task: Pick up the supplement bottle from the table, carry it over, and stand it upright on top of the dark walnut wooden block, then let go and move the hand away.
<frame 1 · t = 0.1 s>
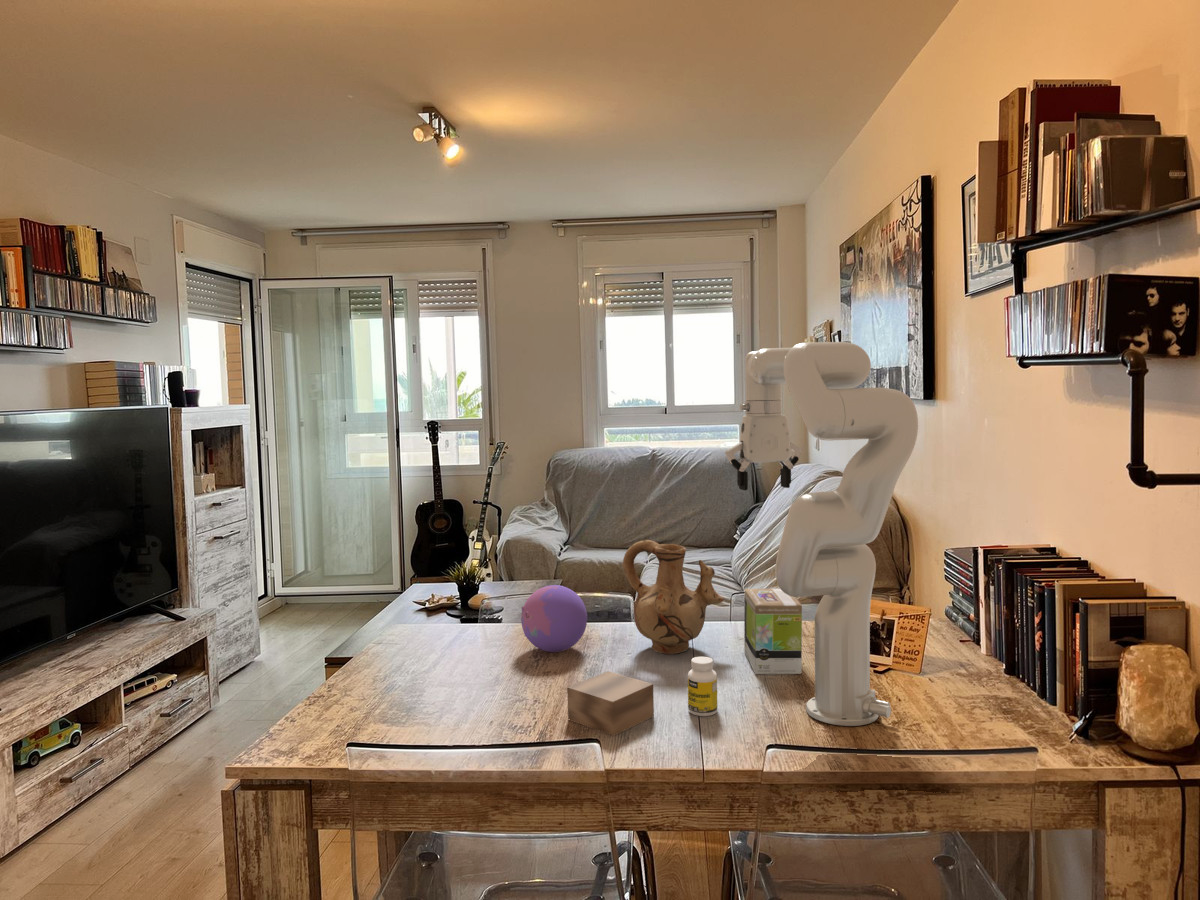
hand: (764, 488, 179), 37 cm above the table, tool pointing down, fingers open, 9 cm apart
walnut block: (611, 717, 151), on the table
ceramic vessel: (673, 650, 189), on the table
decorative ball: (555, 651, 191), on the table
tea box: (772, 664, 179), on the table
supplement bottle: (702, 712, 153), on the table
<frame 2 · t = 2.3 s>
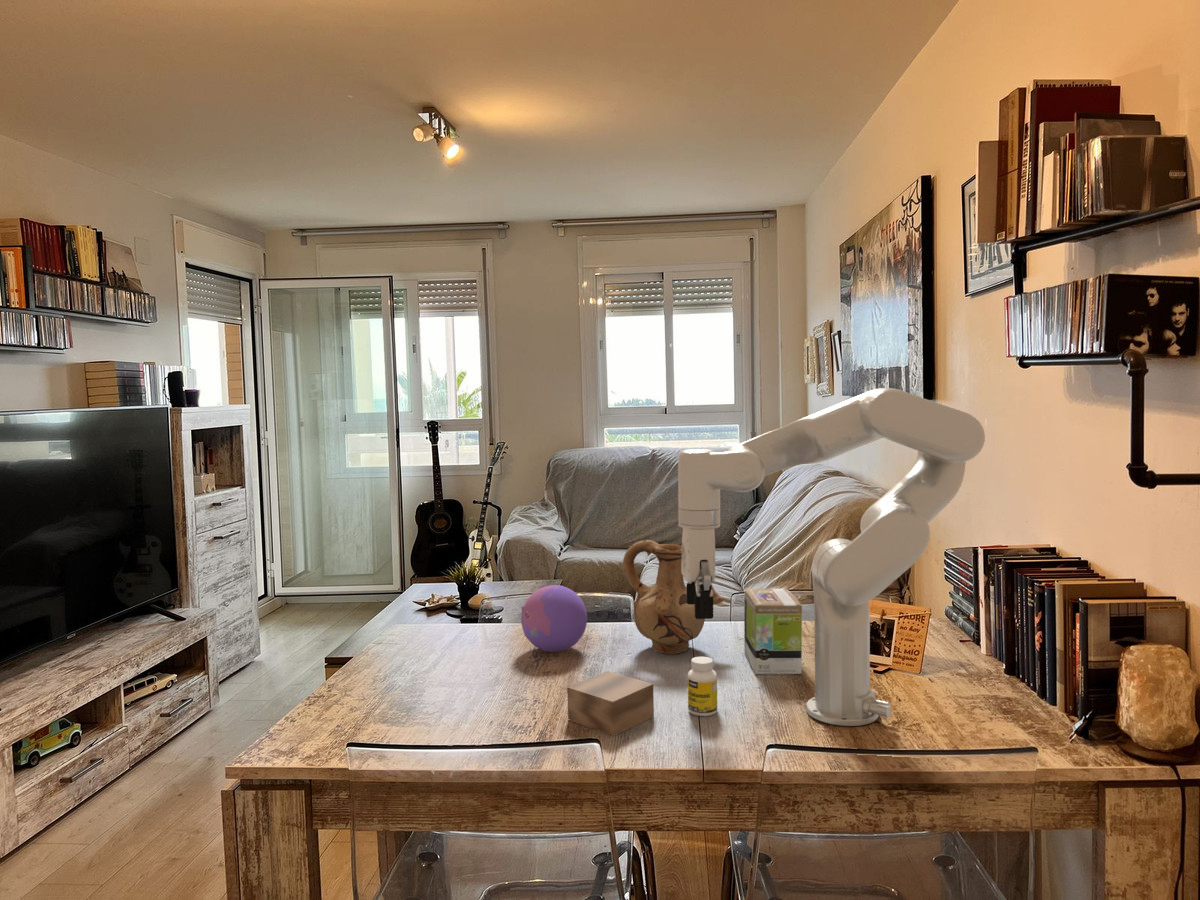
hand: (699, 610, 152), 19 cm above the table, tool pointing down, fingers open, 9 cm apart
nothing on the table moved.
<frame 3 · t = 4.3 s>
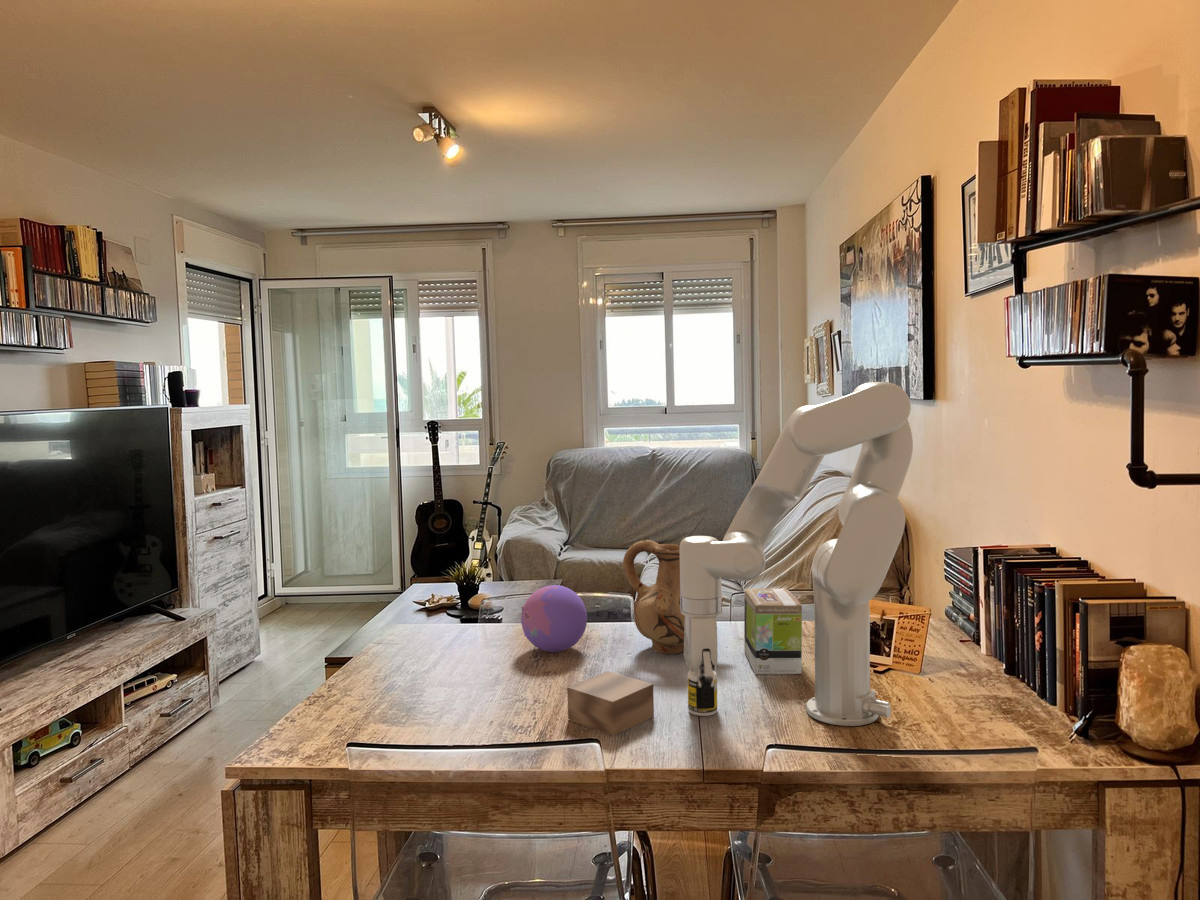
hand: (702, 700, 153), 2 cm above the table, tool pointing down, fingers closed on supplement bottle, 5 cm apart
supplement bottle: (702, 712, 153), on the table, touching gripper
everything else where it was.
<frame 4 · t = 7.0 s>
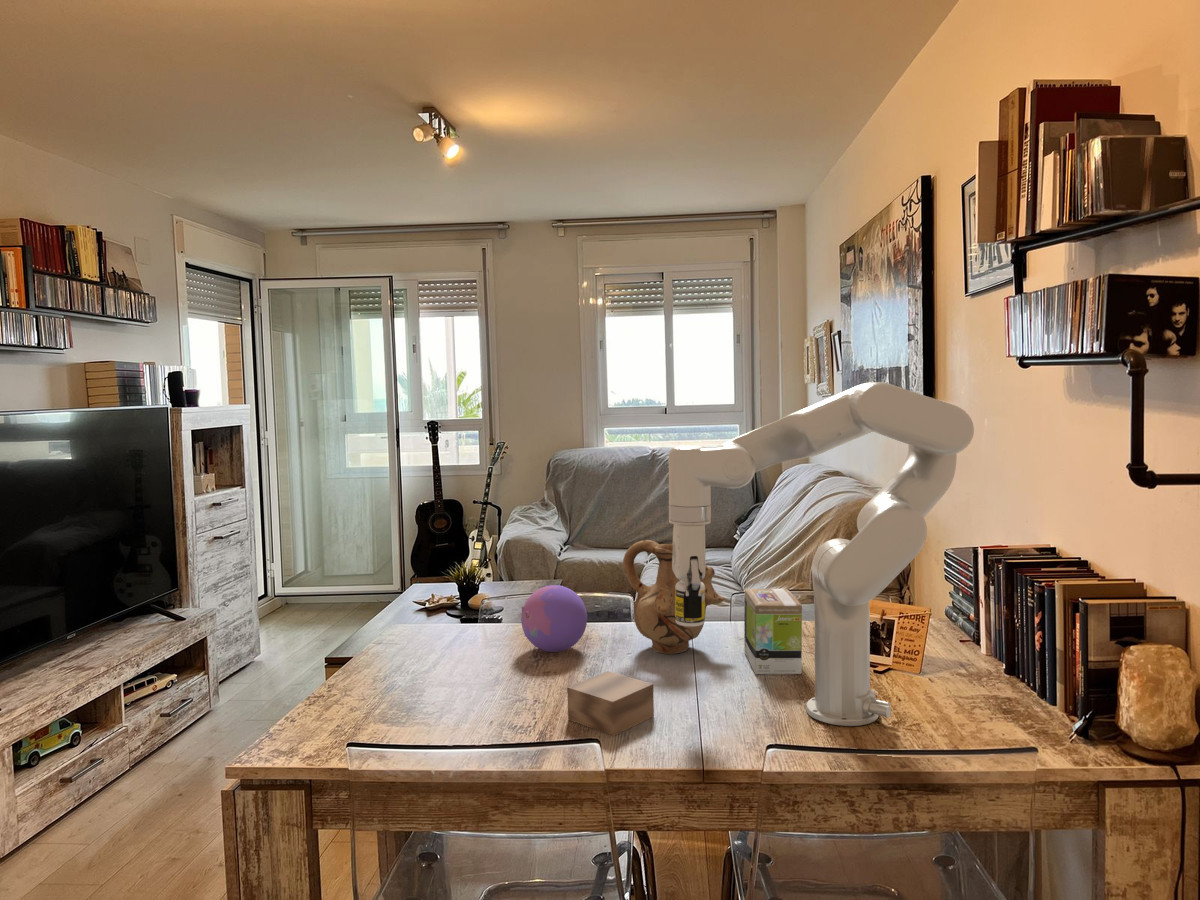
hand: (690, 612, 152), 19 cm above the table, tool pointing down, fingers closed on supplement bottle, 5 cm apart
supplement bottle: (690, 624, 152), point 16 cm above the table, touching gripper
everything else where it was.
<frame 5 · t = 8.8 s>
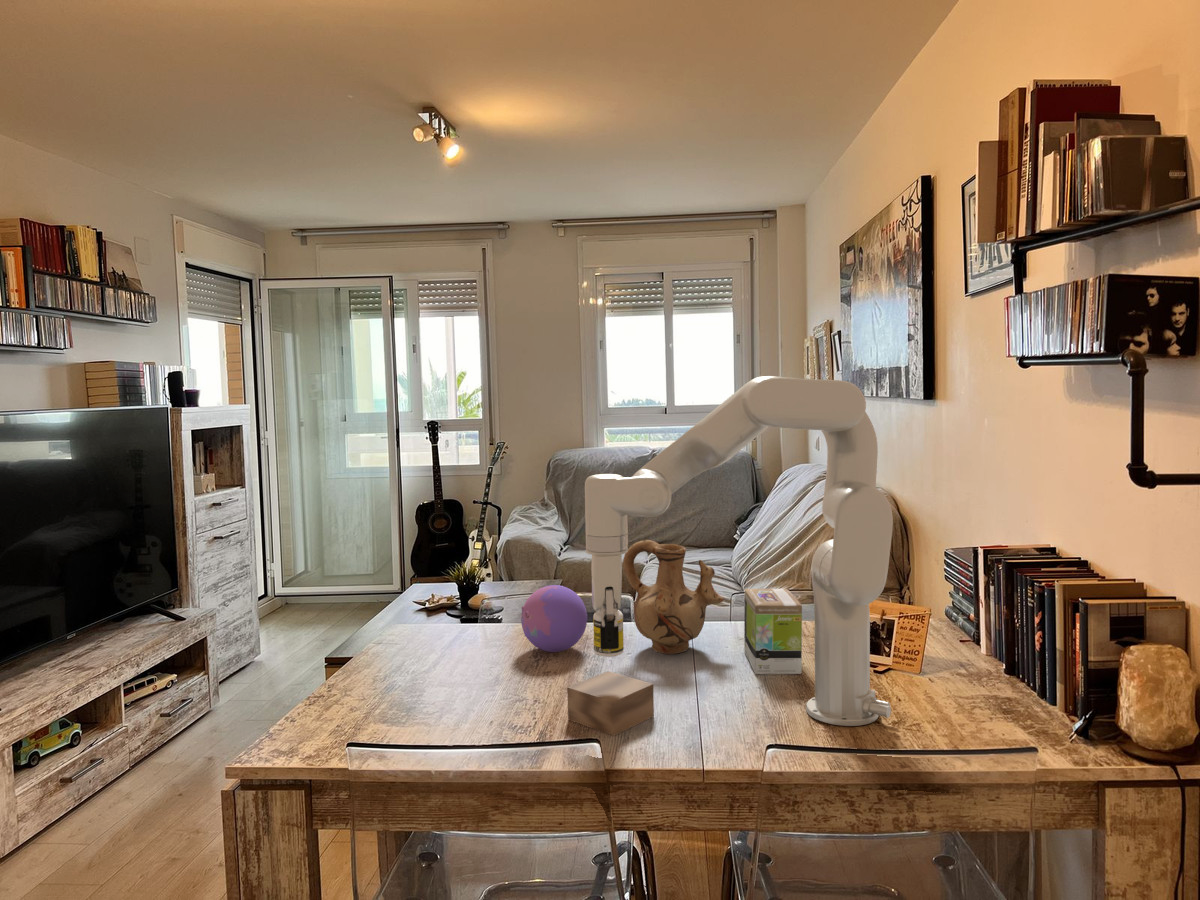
hand: (608, 642, 150), 14 cm above the table, tool pointing down, fingers closed on supplement bottle, 5 cm apart
supplement bottle: (608, 653, 150), point 12 cm above the table, touching gripper
everything else where it was.
when the fingers open (9 cm above the table, at t = 10.0 s): supplement bottle drops 1 cm, resting on walnut block.
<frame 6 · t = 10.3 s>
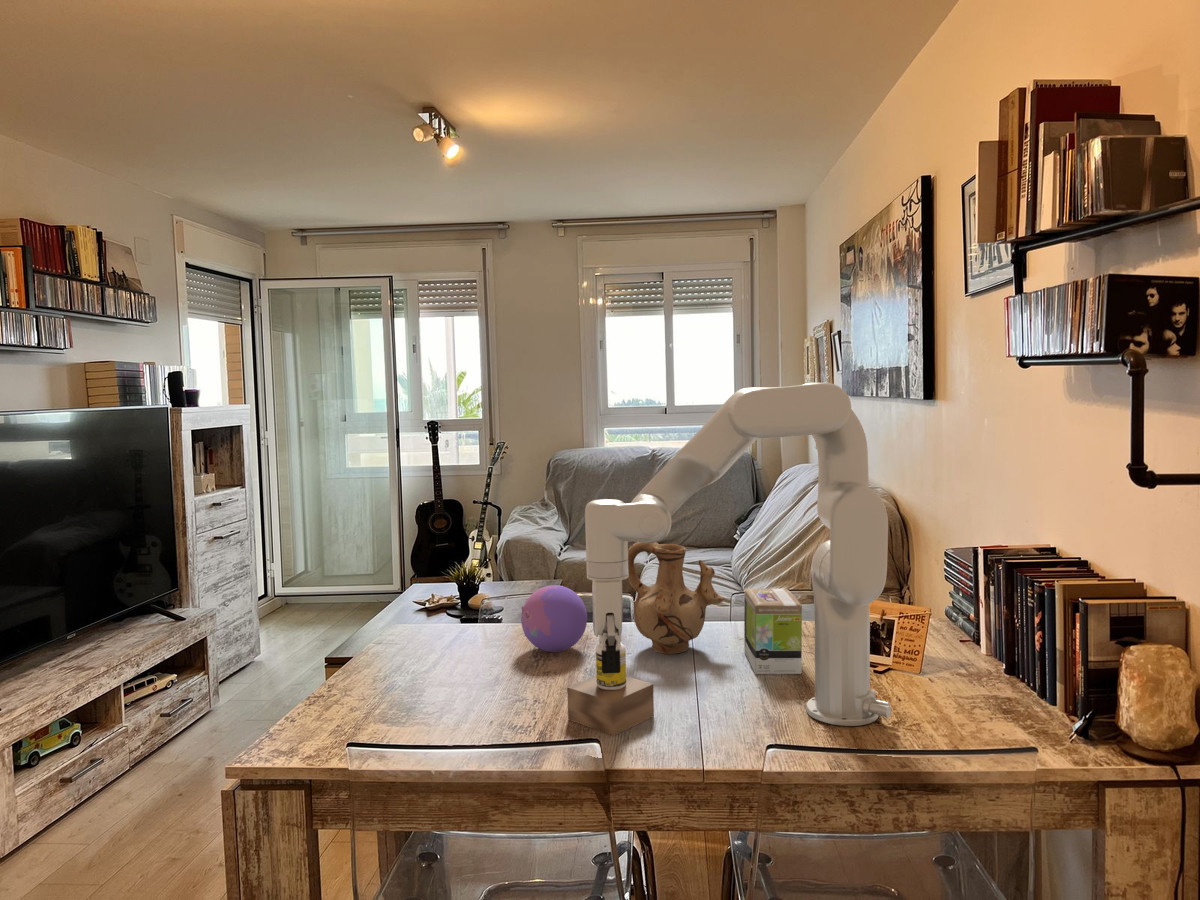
hand: (609, 663, 150), 10 cm above the table, tool pointing down, fingers open, 8 cm apart
supplement bottle: (611, 686, 150), point 6 cm above the table, touching walnut block
everything else where it was.
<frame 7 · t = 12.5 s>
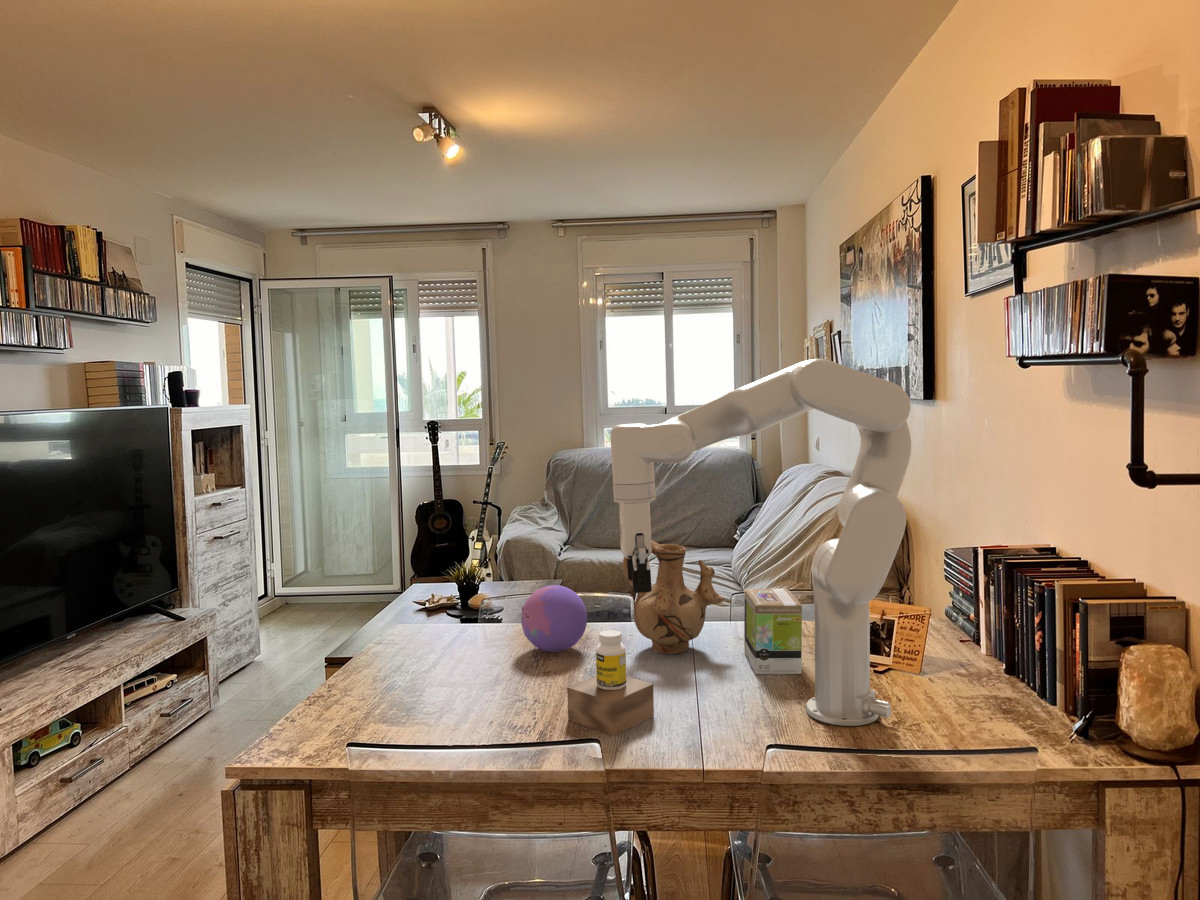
hand: (639, 585, 151), 24 cm above the table, tool pointing down, fingers open, 9 cm apart
nothing on the table moved.
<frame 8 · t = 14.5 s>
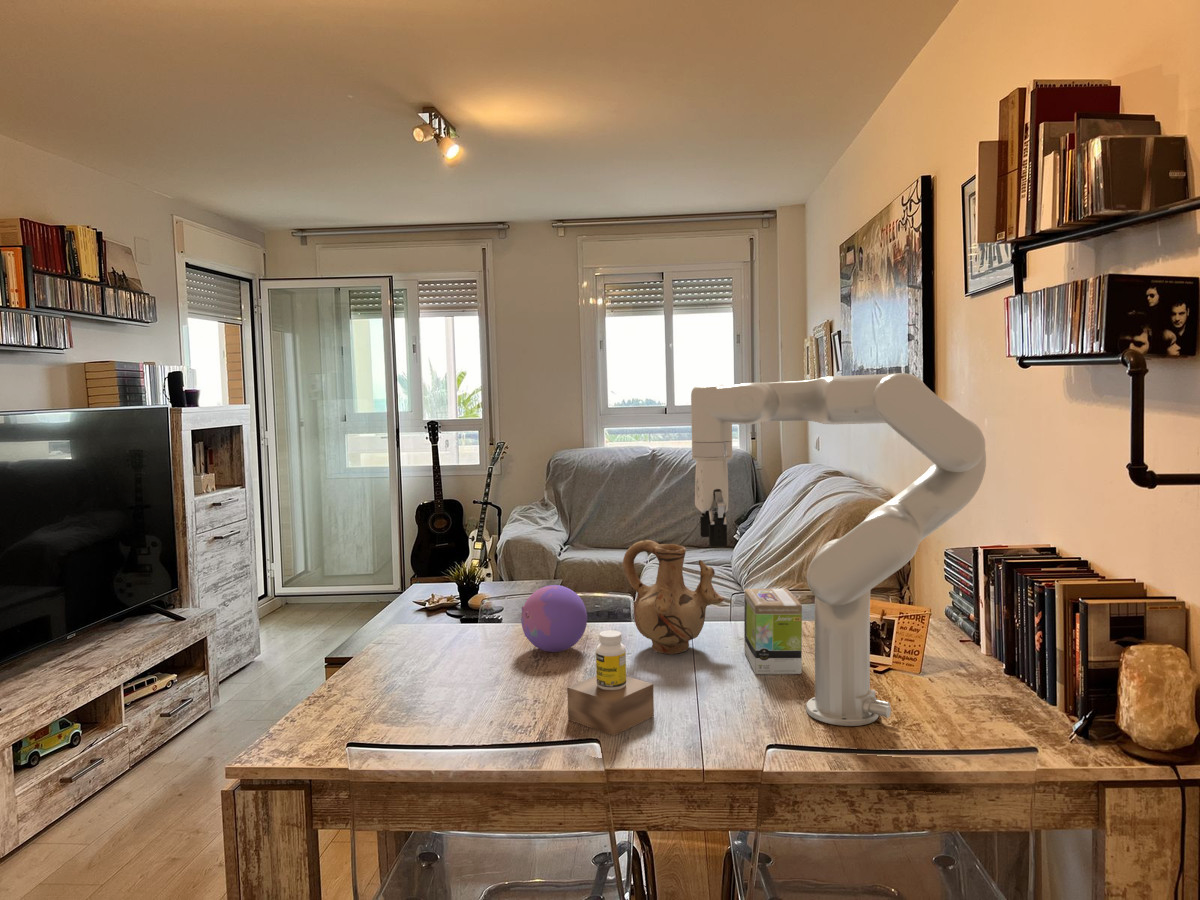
hand: (713, 541, 157), 30 cm above the table, tool pointing down, fingers open, 9 cm apart
nothing on the table moved.
at the end: supplement bottle inside the target area on the walnut block (0.3 cm from its centre), point 5.8 cm above the walnut block's base; supplement bottle tilted 0°; the gripper is holding nothing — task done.
